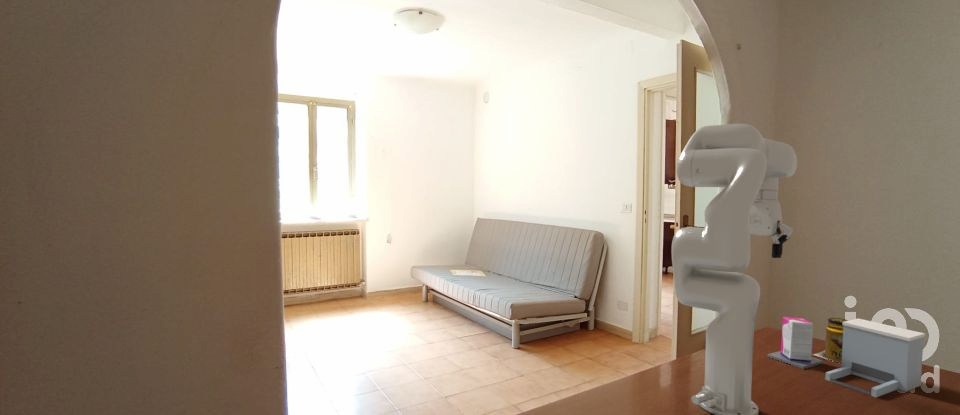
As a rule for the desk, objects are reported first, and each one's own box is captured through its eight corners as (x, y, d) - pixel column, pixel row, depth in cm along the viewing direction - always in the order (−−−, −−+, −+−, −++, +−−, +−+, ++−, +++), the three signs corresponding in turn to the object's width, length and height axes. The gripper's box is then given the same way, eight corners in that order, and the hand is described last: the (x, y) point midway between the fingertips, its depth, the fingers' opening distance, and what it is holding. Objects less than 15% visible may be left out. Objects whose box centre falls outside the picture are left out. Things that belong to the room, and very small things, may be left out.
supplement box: (812, 362, 128) (814, 323, 128) (789, 360, 129) (791, 322, 129) (801, 355, 134) (803, 317, 134) (779, 353, 135) (781, 316, 135)
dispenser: (884, 400, 107) (888, 344, 107) (818, 377, 120) (820, 327, 120) (922, 385, 116) (925, 333, 115) (855, 365, 129) (858, 318, 128)
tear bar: (870, 395, 110) (870, 393, 110) (830, 381, 118) (830, 379, 118) (871, 395, 110) (872, 392, 110) (831, 380, 118) (831, 378, 118)
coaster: (803, 369, 126) (803, 366, 125) (767, 356, 134) (767, 354, 134) (823, 363, 130) (823, 360, 130) (786, 351, 139) (787, 349, 139)
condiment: (845, 365, 129) (847, 324, 128) (812, 355, 136) (813, 316, 136) (857, 360, 132) (859, 321, 132) (824, 351, 140) (826, 313, 139)
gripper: (726, 195, 135) (723, 252, 136) (785, 196, 120) (782, 260, 120) (742, 196, 138) (739, 251, 139) (802, 197, 123) (799, 259, 123)
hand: (759, 255), depth 129 cm, fingers open, 9 cm apart
